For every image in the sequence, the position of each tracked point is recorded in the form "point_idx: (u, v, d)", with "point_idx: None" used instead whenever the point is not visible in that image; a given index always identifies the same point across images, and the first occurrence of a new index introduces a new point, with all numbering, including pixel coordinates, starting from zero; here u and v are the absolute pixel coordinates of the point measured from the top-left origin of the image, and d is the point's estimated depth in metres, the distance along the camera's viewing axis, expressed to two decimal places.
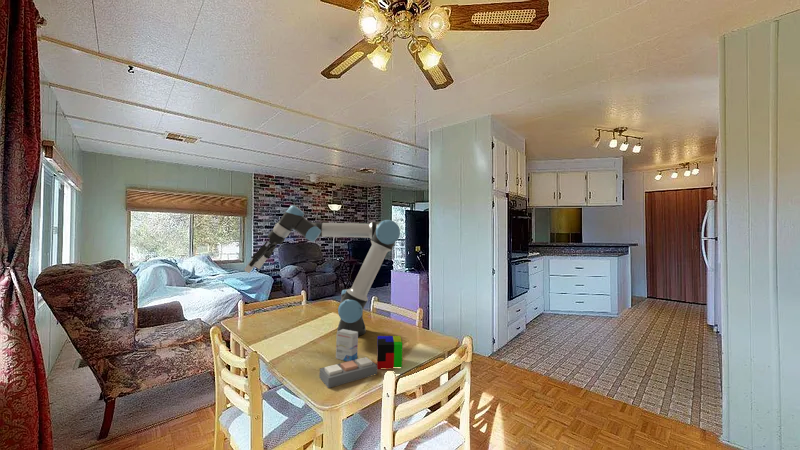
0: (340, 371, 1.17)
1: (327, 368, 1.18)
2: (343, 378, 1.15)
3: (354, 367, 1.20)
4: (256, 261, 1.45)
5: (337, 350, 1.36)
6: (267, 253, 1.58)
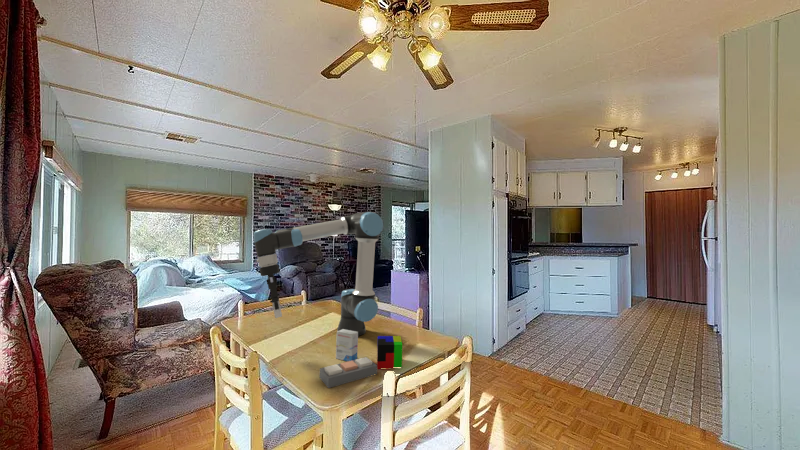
0: (340, 371, 1.17)
1: (327, 368, 1.18)
2: (343, 378, 1.15)
3: (354, 367, 1.20)
4: (278, 301, 1.28)
5: (337, 350, 1.36)
6: None
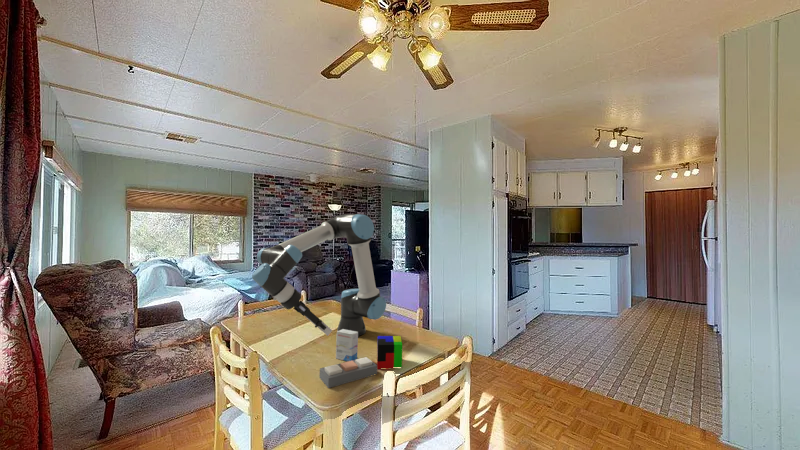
0: (340, 371, 1.17)
1: (327, 368, 1.18)
2: (343, 378, 1.15)
3: (354, 367, 1.20)
4: None
5: (337, 350, 1.36)
6: None
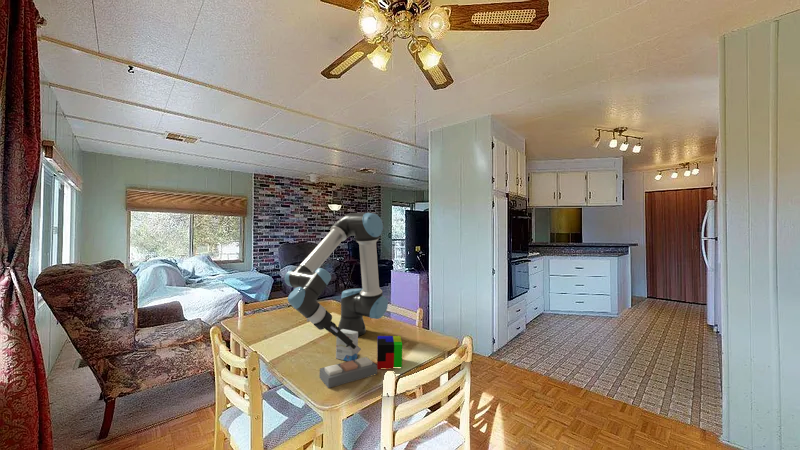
0: (340, 371, 1.17)
1: (327, 368, 1.18)
2: (343, 378, 1.15)
3: (354, 367, 1.20)
4: None
5: (337, 350, 1.36)
6: None
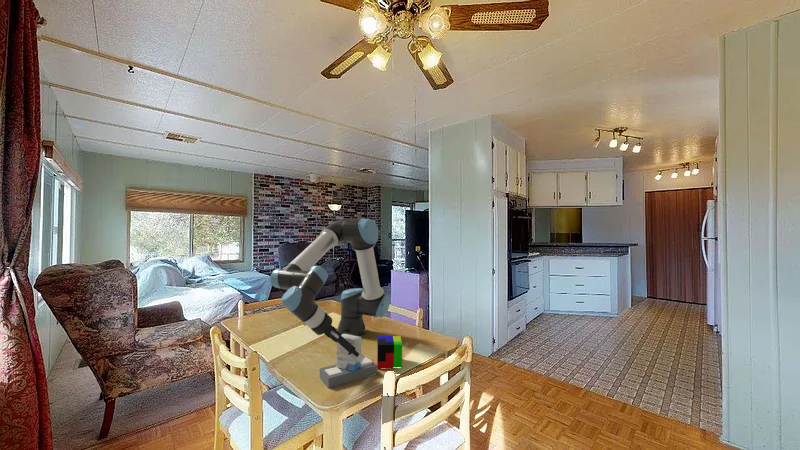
0: None
1: (327, 371, 1.18)
2: (343, 378, 1.15)
3: None
4: None
5: (338, 358, 1.20)
6: None
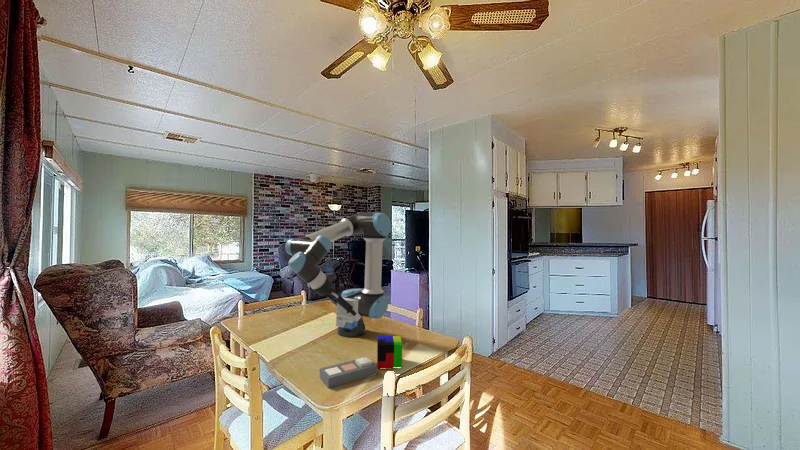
0: None
1: (327, 371, 1.18)
2: (343, 378, 1.15)
3: None
4: None
5: (337, 318, 1.36)
6: None
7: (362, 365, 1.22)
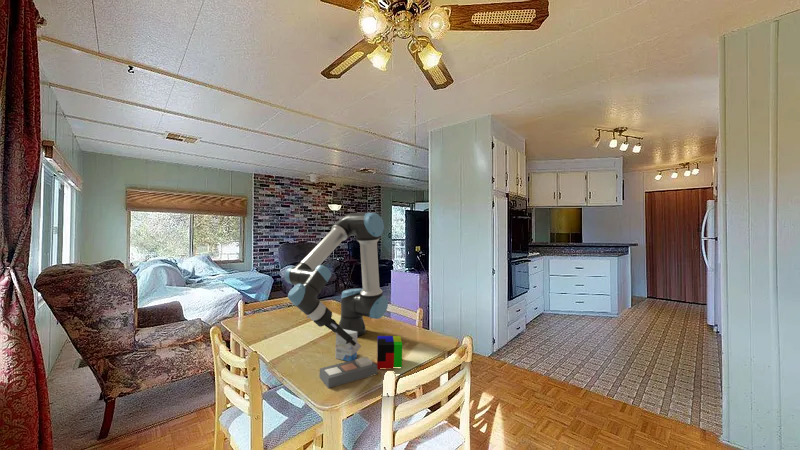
0: None
1: (327, 371, 1.18)
2: (343, 378, 1.15)
3: None
4: None
5: (336, 350, 1.37)
6: None
7: (362, 365, 1.22)
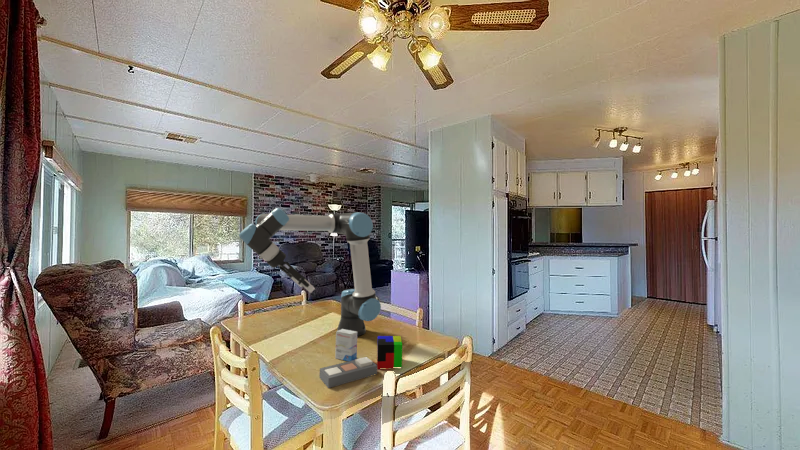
0: None
1: (327, 371, 1.18)
2: (343, 378, 1.15)
3: None
4: (304, 279, 1.32)
5: (336, 350, 1.37)
6: None
7: (362, 365, 1.22)
